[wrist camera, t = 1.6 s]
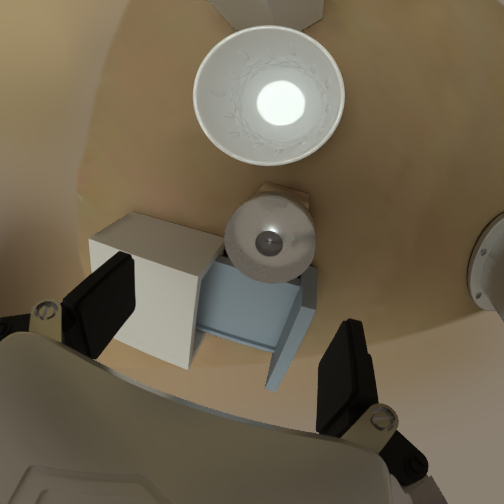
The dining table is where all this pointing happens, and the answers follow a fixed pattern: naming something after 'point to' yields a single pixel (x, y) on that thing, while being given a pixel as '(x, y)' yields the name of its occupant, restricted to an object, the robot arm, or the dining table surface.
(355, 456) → the robot arm
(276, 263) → the disc
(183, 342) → the housing
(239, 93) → the white cup
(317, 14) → the jar
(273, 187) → the beige block
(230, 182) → the dining table surface
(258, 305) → the blue-grey open box
